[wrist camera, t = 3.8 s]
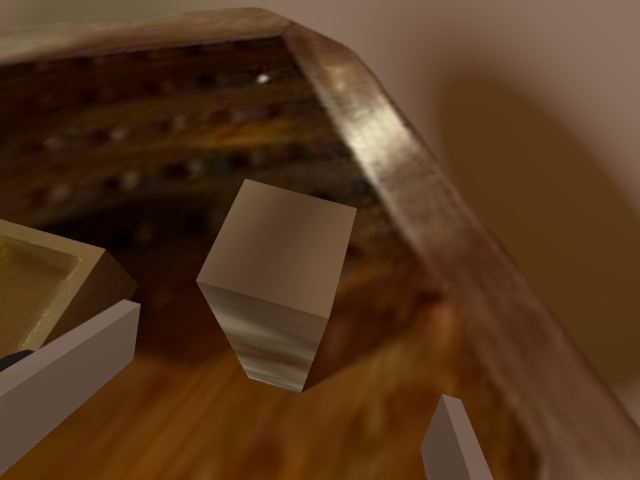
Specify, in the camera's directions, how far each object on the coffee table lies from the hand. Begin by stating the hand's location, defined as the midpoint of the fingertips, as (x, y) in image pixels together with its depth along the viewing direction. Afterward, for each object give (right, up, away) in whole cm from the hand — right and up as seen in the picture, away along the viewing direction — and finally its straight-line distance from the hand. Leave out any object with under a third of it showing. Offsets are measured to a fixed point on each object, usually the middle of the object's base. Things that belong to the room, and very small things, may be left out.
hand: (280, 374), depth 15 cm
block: (-1, -3, +12) cm, 12 cm away
